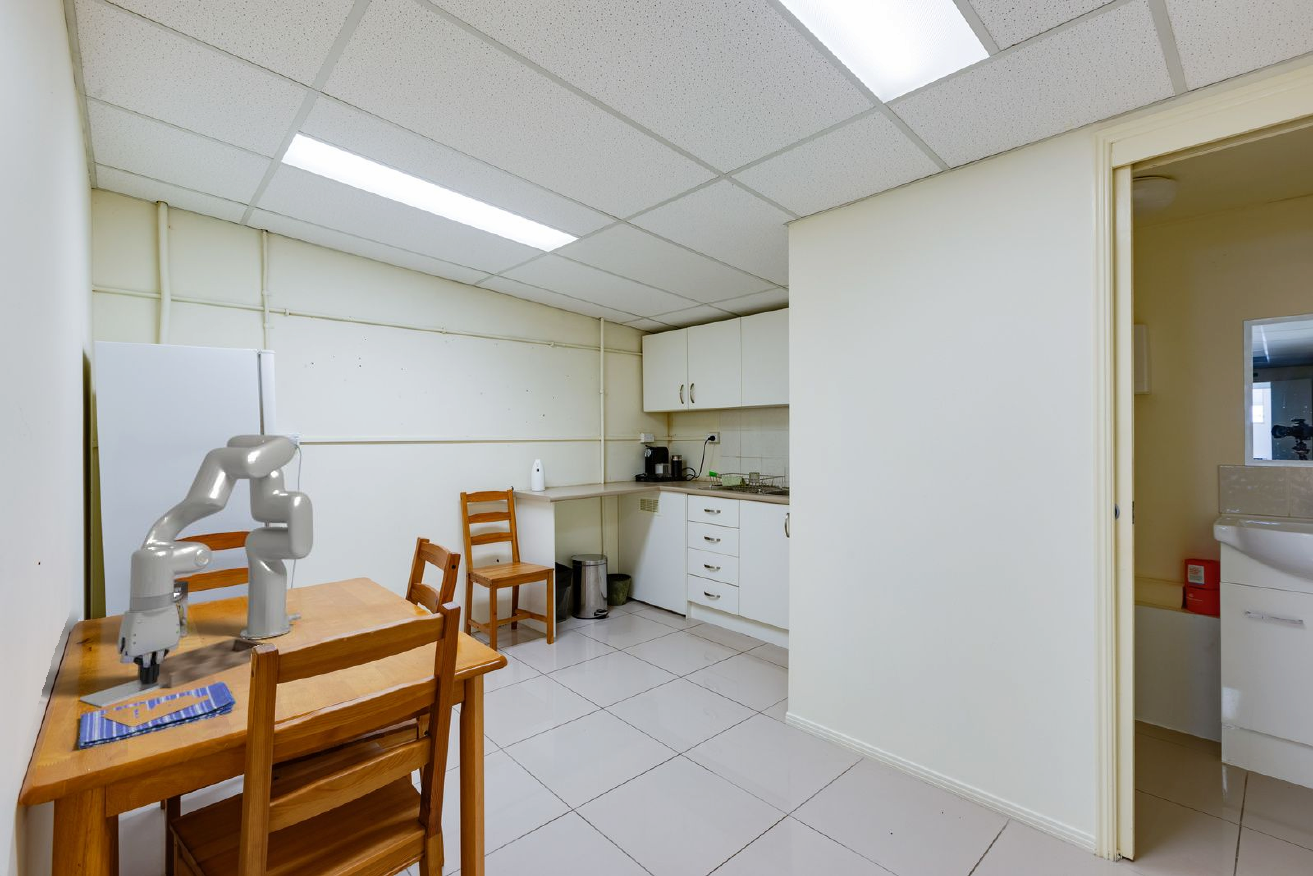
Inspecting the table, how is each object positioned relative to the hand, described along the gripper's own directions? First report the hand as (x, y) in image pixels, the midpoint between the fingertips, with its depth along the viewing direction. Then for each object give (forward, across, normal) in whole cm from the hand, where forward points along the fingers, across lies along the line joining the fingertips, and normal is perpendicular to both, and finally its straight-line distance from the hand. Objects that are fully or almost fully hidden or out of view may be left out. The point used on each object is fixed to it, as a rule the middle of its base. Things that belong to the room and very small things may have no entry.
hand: (149, 681), depth 130 cm
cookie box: (+2, -20, -34) cm, 39 cm away
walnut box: (+2, -12, 0) cm, 12 cm away
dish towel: (+2, +6, +17) cm, 18 cm away
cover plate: (+2, +5, 0) cm, 5 cm away
